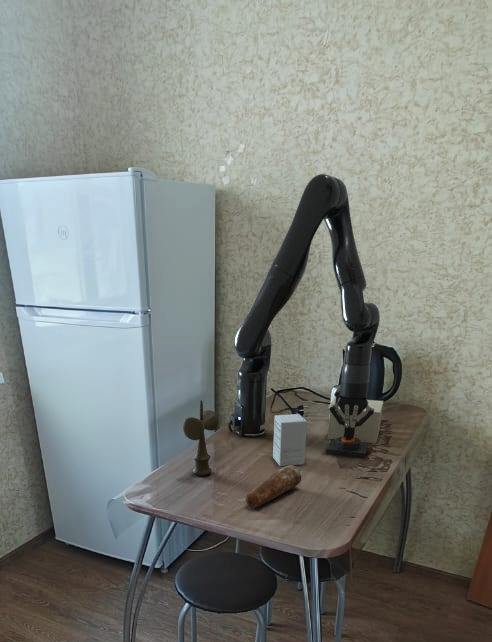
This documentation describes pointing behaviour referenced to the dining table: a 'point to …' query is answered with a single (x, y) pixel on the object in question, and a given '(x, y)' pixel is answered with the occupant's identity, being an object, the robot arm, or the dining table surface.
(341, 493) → the dining table surface
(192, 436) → the kendama
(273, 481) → the bread
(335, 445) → the button block
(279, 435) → the white packaging box
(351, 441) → the release button
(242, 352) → the robot arm
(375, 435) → the hinged lid box
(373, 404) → the box lid
